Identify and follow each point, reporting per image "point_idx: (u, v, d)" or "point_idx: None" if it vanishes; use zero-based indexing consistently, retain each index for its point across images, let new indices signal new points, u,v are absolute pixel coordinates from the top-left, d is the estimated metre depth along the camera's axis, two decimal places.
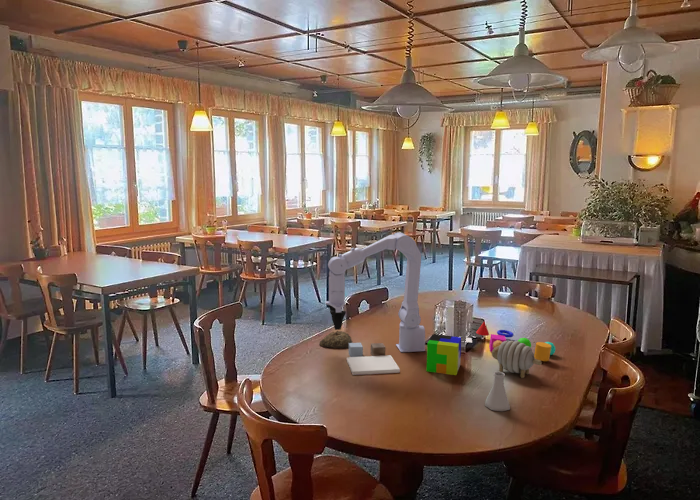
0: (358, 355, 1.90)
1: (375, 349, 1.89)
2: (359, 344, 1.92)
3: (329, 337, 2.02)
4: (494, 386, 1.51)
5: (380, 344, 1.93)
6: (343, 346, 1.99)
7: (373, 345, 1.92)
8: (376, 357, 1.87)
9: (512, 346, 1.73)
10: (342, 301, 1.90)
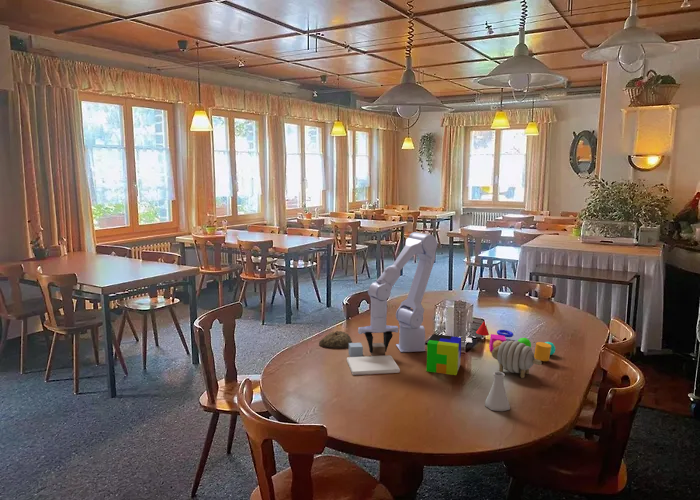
0: (358, 355, 1.90)
1: (375, 349, 1.89)
2: (359, 344, 1.92)
3: (329, 337, 2.02)
4: (494, 386, 1.51)
5: (380, 344, 1.93)
6: (343, 346, 1.99)
7: (373, 345, 1.91)
8: (376, 357, 1.87)
9: (512, 346, 1.73)
10: (373, 327, 1.88)
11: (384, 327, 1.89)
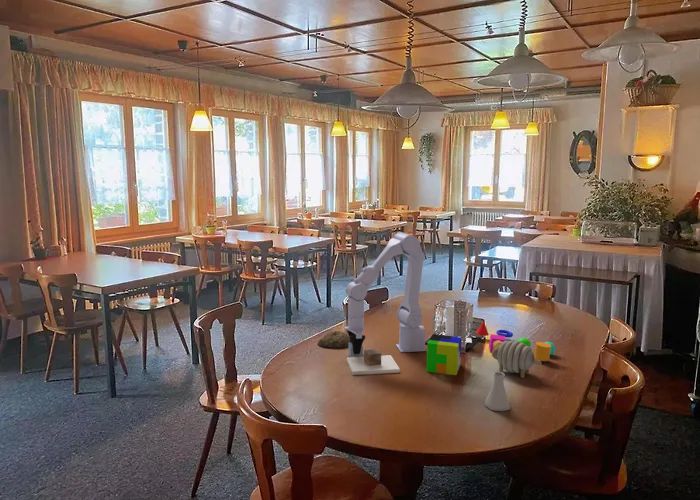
0: (358, 355, 1.90)
1: (371, 357, 1.79)
2: None
3: (327, 337, 2.02)
4: (494, 386, 1.51)
5: (374, 350, 1.82)
6: (341, 346, 1.99)
7: (368, 352, 1.81)
8: None
9: (512, 346, 1.73)
10: (361, 326, 1.89)
11: None
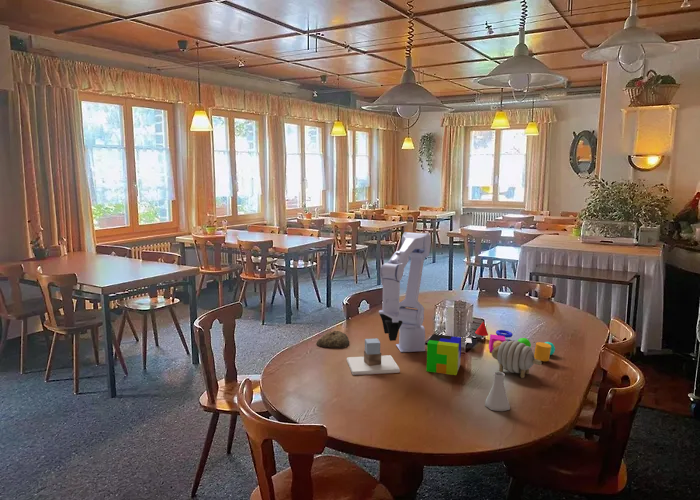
0: (375, 351, 1.79)
1: (371, 357, 1.79)
2: (376, 340, 1.81)
3: (326, 337, 2.02)
4: (494, 386, 1.51)
5: None
6: (340, 346, 2.00)
7: None
8: None
9: (512, 346, 1.73)
10: (397, 310, 1.78)
11: None
